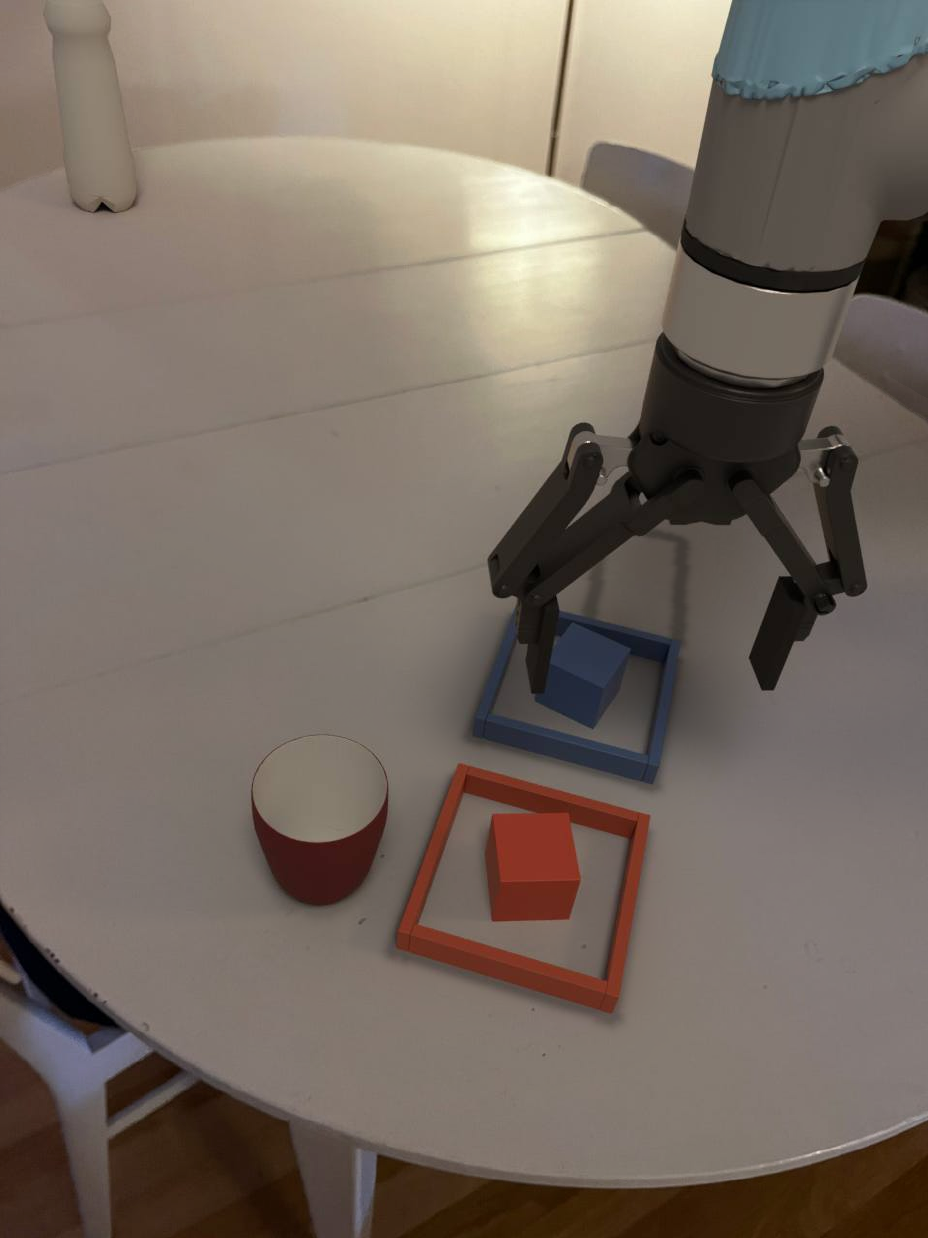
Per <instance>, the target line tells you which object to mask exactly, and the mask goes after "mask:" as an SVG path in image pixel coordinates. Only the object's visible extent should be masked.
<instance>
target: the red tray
mask: <svg viewBox="0 0 928 1238" xmlns="http://www.w3.org/2000/svg"><path fill="white" fill-rule="evenodd" d="M464 794H467V795H471V796H475V797H479V798H482V799H486V800H489V801H493V802H497V803H500V804H502V805H503V804H504V805H506V806H510V807H514V808H519V809H522V810H526V811H528V812H531V813H569V818H570V823H572V824H576V825H578V826H582V827H586V828H589V829H594V830H596V831H600V832H603V833H606V834H607V833H608V834H611V835H615V836H618V837H622V838H625V839H629V840H630V844H629V849H628V855H627V860H626V865H625V870H624V876H623V881H622V886H621V892H620V898H619V903H618V908H617V914H616V918H615V919H616V920H615V923H614V929H613V934H612V940H611V944H610V945H611V946H610V950H609V954H608V961H607V967H606V972H605V977H604V979H601V978H597V977H595V976H591V975H587V974H585V973H582V972H577V971H575V970H571V969H568V968H565V967H561V966H558V965H554V964H551V963H548V962H544V961H541V960H538V959H535V958H531V957H528V956H524V955H521V954H517V953H515V952H512V951H508V950H504V949H501V948H499V947H495V946H491V945H487V944H484V943H481V942H478V941H474V940H471V939H468V938H464V937H461V936H457V935H454V934H452V933H448V932H444V931H441V930H438V929H435V928H431V927H428V926H424V925H421V924H419V923H420V920H421V916H422V914H423V911H424V909H425V906H426V903H427V901H428V897H429V893H430V891H431V888H432V887H433V886H432V885H433V882H434V880H435V877H436V875H437V872H438V869H439V867H440V866H439V865H440V862H441V860H442V857H443V854H444V851H445V848H446V846H447V842H448V839H449V836H450V834H451V831H452V828H453V825H454V822H455V819H456V816H457V814H458V811H459V808H460V805H461V802H462V800H463V796H464ZM650 821H651V815H650V814H647V813H644V812H639V811H636V810H631V809H628V808H625V807H622V806H618V805H614V804H611V803H607V802H603V801H599V800H595V799H592V798H588V797H584V796H581V795H578V794H574V793H570V792H567V791H563V790H560V789H556V788H552V787H548V786H545V785H542V784H538V783H534V782H531V781H528V780H527V781H526V780H523V779H520V778H516V777H512V776H508V775H505V774H501V773H498V772H495V771H494V772H493V771H490V770H487V769H483V768H480V767H476V766H473V765H469V764H465V763H461V762H458V763H457V766H456V769H455V771H454V774H453V777H452V780H451V782H450V785H449V788H448V791H447V793H446V796H445V799H444V801H443V804H442V808H441V810H440V813H439V816H438V819H437V821H436V824H435V826H434V829H433V832H432V835H431V837H430V840H429V842H428V846H427V848H426V852H425V855H424V857H423V860H422V862H421V865H420V868H419V871H418V873H417V876H416V879H415V882H414V885H413V886H412V889H411V893H410V896H409V898H408V901H407V903H406V906H405V909H404V911H403V915H402V917H401V919H400V923H399V925H398V927H397V935H396V947H395V948H396V949H397V950H401V951H403V952H408V953H411V954H414V955H417V956H419V957H420V956H421V957H422V958H426V959H430V960H433V961H437V962H440V963H443V964H446V965H450V966H453V967H456V968H459V969H462V970H466V971H469V972H472V973H476V974H479V975H483V976H486V977H489V978H493V979H496V980H499V981H502V982H506V983H508V984H512V985H516V986H518V987H522V988H525V989H529V990H531V991H535V992H538V993H542V994H544V995H547V996H551V997H555V998H558V999H561V1000H564V1001H568V1002H571V1003H575V1004H578V1005H582V1006H583V1007H584V1006H585V1007H588V1008H591V1009H595V1010H598V1011H601V1012H605V1013H607V1014H611V1015H612V1014H613V1013H614V1012H615V1011H614V1010H615V1008H616V1006H617V1003H618V1001H619V998H620V994H621V987H622V983H623V977H624V971H625V967H626V966H625V965H626V960H627V959H626V958H627V953H628V948H629V942H630V937H631V930H632V925H633V920H634V914H635V907H636V903H637V896H638V891H639V885H640V879H641V873H642V867H643V860H644V855H645V850H646V845H647V839H648V833H649V827H650Z"/></svg>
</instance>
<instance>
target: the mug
mask: <svg viewBox="0 0 928 1238" xmlns="http://www.w3.org/2000/svg"><path fill="white" fill-rule="evenodd" d="M250 794H251V796H250V798H251V799H250V800H251V811H252V812H251V816H252V822H253V828H254V831H255V834H256V837H257V840H258V842H259V845H260V848H261V850H262V853H263V854H264V857H265V860H266V862H267V865H268V867H269V869H270V871H271V874H272V876H273V877H274V879H275V881H276V882H277V884H278V885H279V886H280V887H281V889H282V890H283V891H285V892H286V893H287V894H288V895H290V896H291V897H292V898H294V899H296V900H298V901H300V902H302V903H304V904H307V905H310V906H311V905H312V906H328V905H332V904H336V903H338V902H340V901H341V900H344V899H345V898H347V897H348V896H350V895H351V894H352V893H354V892H355V891H356V890H357V889H358V888H359V887H360V886H361V885H362V883H363V882H364V881H365V879H366V878H367V876H368V874H369V872H370V870H371V868H372V865H373V863H374V860H375V857H376V855H377V852H378V849H379V846H380V843H381V842H382V837H383V835H384V832H385V829H386V828H385V827H386V824H387V819H388V813H389V811H388V810H389V781H388V775H387V772H386V770H385V768H384V766H383V764H382V763H381V761H380V760H379V758H378V757H377V756H376V755H375V754H374V752H372V751H371V750H370V749H369V748H367V747H366V746H365V745H363V744H361V743H359V742H357V741H355V740H353V739H351V738H347V737H343V736H340V735H335V734H310V735H305V736H300V737H297V738H294V739H291V740H289V741H287V742H284V743H282V744H280V745H279V746H278V747H276V748H274V749H273V750H272V751H271V752H270V753H268V754H267V755H266V756H265V758H264V759H262V761H261V762H260V764H259V765H258V767H257V768H256V770H255V772H254V775H253V778H252V783H251V789H250Z"/></svg>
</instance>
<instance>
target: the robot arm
mask: <svg viewBox="0 0 928 1238" xmlns="http://www.w3.org/2000/svg"><path fill="white" fill-rule="evenodd" d="M711 69H712V70H711V74H710V76H711V78H712V82H711V88H710V90H709V96H708V101H707V106H706V111H705V118H704V122H703V126H702V132H701V138H700V142H699V147H698V151H697V158H696V162H695V166H694V172H693V177H692V182H691V186H690V187H691V188H690V193H689V198H688V203H687V207H686V212H685V215H684V218H683V222H682V227H681V231H680V236H679V239H678V244H677V249H676V254H675V257H674V258H675V259H674V262H673V267H672V271H671V276H670V281H669V285H668V290H667V295H666V299H665V303H664V308H663V312H662V317H661V321H660V324H661V328H662V332H661V333H660V334H659V335H658V337H657V339H656V341H655V346H654V350H653V355H652V360H651V364H650V369H649V373H648V377H647V382H646V386H645V392H644V396H643V401H642V405H641V412H640V417H639V420H638V423H637V425H636V426H635V427H634V429H633V431H632V432H631V433H629V435H628V436H627V437H619V436H611V435H601V434H596V431H595V427H594V426H593V425H592V424H591V423H589V422H578V423H576V424H575V425H573V426H572V427H571V429H570V431H569V434H568V438H567V441H566V444H565V448H564V450H563V451H564V452H563V455H562V457H561V460H560V461H559V463H558V464H557V465H556V467H555V468H554V469H553V471H552V472H551V474H550V475H549V476H548V478H547V479H546V480H545V482H544V483H543V484H542V485H541V487H540V488H539V489H538V490H537V492H536V493H535V495H534V496H533V497H532V498H531V499H530V501H529V502H528V504H527V505H526V506H525V508H524V509H523V510H522V512H521V513H520V514H519V515H518V517H517V518H516V520H515V521H514V522H513V524H512V525H511V526H510V528H509V529H508V530H507V531H506V533H505V535H503V537H502V538H501V539H500V541H499V542H498V543H497V545H496V546H495V547H494V549H493V550H492V551H491V553H489V555H488V557H487V560H486V561H487V568H488V574H489V581H490V587H491V593H492V595H493V596H494V597H495V598H497V599H501V600H503V599H508V598H510V597H514V598H516V604H515V606H516V610H515V617H514V622H515V628H516V634H517V641H518V643H519V645H527V647H526V648H527V649H526V653H525V659H524V660H525V666H526V671H527V678H528V681H529V689H530V694H532V695H536V694H544V693H545V687H546V682H547V676H548V671H549V666H550V660H551V655H552V649H553V647H554V645H555V644H554V643H555V638H556V635H555V633H556V628H557V622H558V617H559V611H561V610H560V606H559V599H558V597H557V596H558V595H559V594H560V593H561V592H562V591H564V590H565V589H566V588H567V587H569V586H570V585H571V584H573V583H575V581H577V580H578V579H580V578H581V577H582V576H583V575H584V574H586V573H587V572H589V571H590V570H591V569H593V567H595V566H596V565H597V564H598V563H600V562H601V561H602V560H604V559H605V558H607V557H608V556H609V555H611V554H613V552H614V551H616V550H617V549H619V548H620V547H621V546H622V545H624V544H625V543H626V542H627V541H629V540H630V539H631V538H632V537H634V536H637V537H643V536H645V535H647V534H648V533H649V532H651V531H652V530H654V529H655V528H656V527H657V526H659V525H660V524H661V523H663V522H664V521H665V520H667V521H668V524H669V525H670V526H687V525H692V524H698V523H704V524H708V525H709V524H710V525H713V526H731V524H732V521H735V520H738V519H740V518H742V517H744V516H746V515H747V517H748V519H749V520H750V521H751V523H752V524H753V525H754V527H755V529H756V530H757V531H758V533H759V534H760V536H761V537H763V538H764V539H765V541H766V542H767V544H768V545H769V547H770V548H771V549H772V551H773V553H774V554H775V555H776V556H777V558H778V560H779V561H780V562H781V565H783V566H784V568H785V569H786V571H787V572H788V574H789V575H779V576H778V578H777V580H776V583H775V586H774V588H773V591H772V594H771V597H770V599H769V602H768V605H767V607H766V610H765V612H764V615H763V618H762V621H761V623H760V626H759V628H758V630H757V634H756V637H755V639H754V642H753V644H752V648H751V649H750V652H749V655H748V660H749V662H750V664H751V668H752V670H753V672H754V675H755V677H756V680H757V682H758V685H759V688H760V691H761V692H762V691H765V692H767V691H769V692H770V691H771V692H773V691H775V689H776V687H777V685H778V682H779V680H780V677H781V674H782V672H783V670H784V667H785V664H786V663H787V660H788V659H789V655H790V653H791V650H792V649H793V646H794V644H795V642H804V641H805V640H806V639H807V638H808V637H809V636H810V634H811V632H812V629H813V627H814V625H815V622H816V620H817V618H818V616H822V617H823V616H826V615H829V614H831V613H832V612H834V611H835V609H836V608H837V602H836V600H835V598H834V596H836V595H839V594H843V593H845V595H846V596H848V598H849V597H852V598H854V597H859V596H860V595H863V594H864V593H865V592H866V590H867V589H868V581H867V575H866V569H865V565H864V559H863V553H862V547H861V542H860V536H859V530H858V525H857V519H856V513H855V508H854V502H853V497H852V488H853V484H854V481H855V478H856V477H855V476H856V473H857V470H858V466H859V457H858V455H857V454H856V453H855V451H854V450H853V448H852V445H850V442H849V441H848V440H847V438H846V437H845V435H844V433H843V432H842V430H841V429H840V427H839V426H836V425H828V426H825V427H824V428H822V429H820V431H819V432H818V434H817V436H816V438H806V439H803V437H804V435H805V433H806V431H807V427H808V425H809V422H810V419H811V416H812V413H813V411H814V408H815V405H816V402H817V399H818V396H819V393H820V391H821V387H822V385H823V382H824V379H825V368H824V366H825V365H827V364H828V363H829V362H830V361H832V358H833V355H834V352H835V349H836V346H837V343H838V341H839V337H840V335H841V332H842V328H843V326H844V323H845V320H846V317H847V315H848V311H849V309H850V305H851V302H852V299H853V297H854V294H855V291H856V287H857V284H858V282H859V279H860V276H861V273H862V271H863V268H864V266H865V262H866V260H867V258H868V254H869V252H870V249H871V247H872V245H873V242H874V240H875V237H876V234H877V232H878V231H879V227H880V225H881V222H883V221H902V222H920V223H922V222H928V0H731V4H730V6H729V9H728V14H727V18H726V22H725V25H724V30H723V33H722V36H721V39H720V44H719V48H718V52H717V53H716V55H715V57H714V60H713V65H712V68H711ZM620 467H627V470H628V471H627V472H625V473H624V474H623V475H622V476H620V477H618V479H617V480H615V482H614V483H613V484H612V486H611V489H610V492H608V494H607V495H606V496H604V497H603V498H602V499H601V500H599V501H598V502H597V503H596V504H595V505H593V506H592V507H591V508H589V509H588V510H586V512H585V513H583V514H582V515H581V516H580V517H579V518H577V519H576V520H575V521H574V522H572V521H573V520H574V519H575V518H576V517H577V515H578V514H579V513H580V512H581V511H582V510H583V508H584V507H585V506H586V504H587V503H588V501H589V500H590V498H591V496H592V495H593V493H594V490H595V488H596V485H597V486H604V485H606V484H607V483H608V478H609V477H610V475H611V474H612V473H613V471H614V470H616V469H618V468H620ZM799 469H802V470H803V472H804V474H805V475H806V477H807V479H808V481H809V482H810V483H812V487H813V492H814V494H815V500H816V501H815V502H816V506H817V510H818V516H819V519H820V525H821V529H822V534H823V539H824V543H825V548H826V553H827V558H828V561H823V562H820V563H816V561H815V560H814V558H813V557H812V554H810V552H809V550H808V549H807V548H806V546H805V544H804V543H803V542H802V540H801V539H800V537H799V535H798V534H797V532H796V531H795V529H794V527H792V525H791V523H790V522H789V520H788V519H787V517H786V516H785V514H784V513H783V511H782V510H781V509H780V506H779V505H778V504H777V503H776V501H775V499H774V497H773V496H772V495H771V494H772V493H774V492H775V491H776V490H778V489H779V488H780V487H781V486H783V485H784V484H785V483H786V482H788V480H790V479H791V478H792V477H793V476H795V474H796V473H797V472H798V470H799ZM641 494H643V496H644V497H645V499H646V501H644V502H643V503H641V500H640V496H641Z"/></svg>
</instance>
